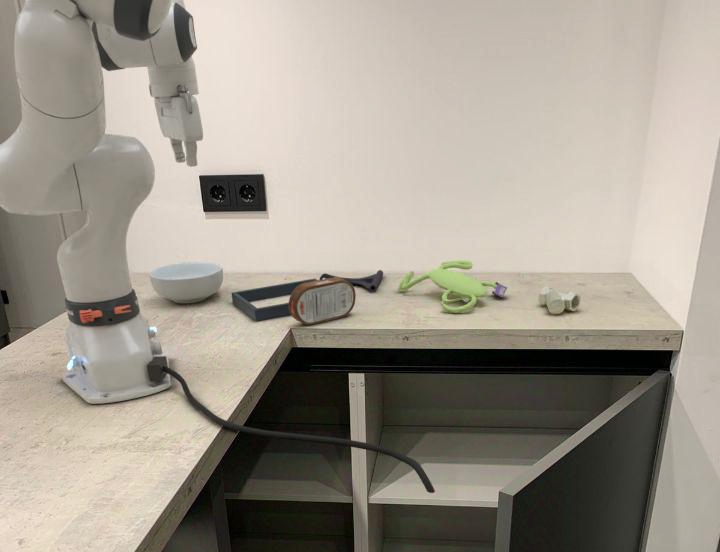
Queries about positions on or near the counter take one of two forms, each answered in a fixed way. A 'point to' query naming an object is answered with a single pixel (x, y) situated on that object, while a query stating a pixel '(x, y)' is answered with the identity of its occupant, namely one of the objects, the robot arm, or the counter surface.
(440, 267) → the figurine
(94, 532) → the counter surface
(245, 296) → the tray
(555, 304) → the pipe fitting
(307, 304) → the tin
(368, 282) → the bracket
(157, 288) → the cereal bowl
